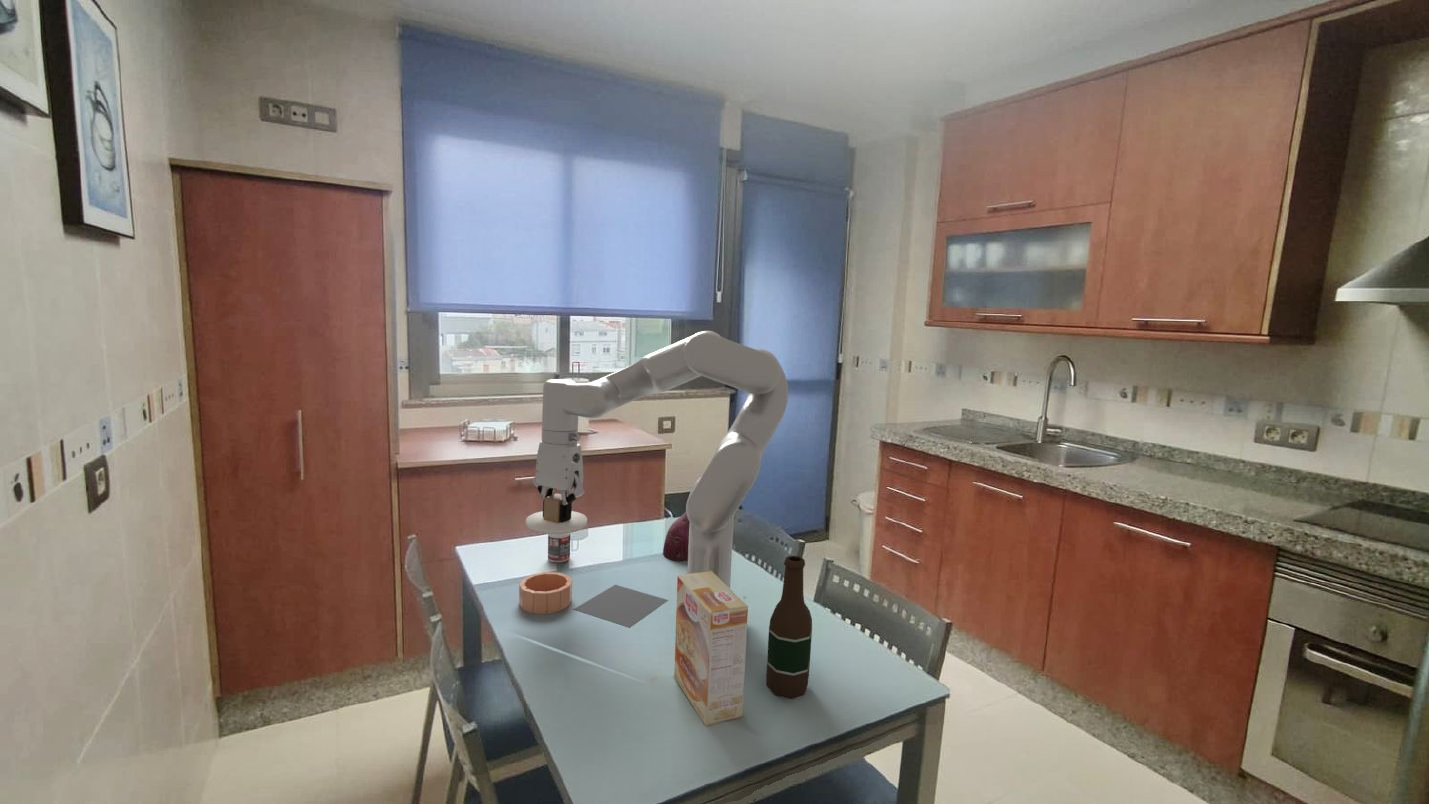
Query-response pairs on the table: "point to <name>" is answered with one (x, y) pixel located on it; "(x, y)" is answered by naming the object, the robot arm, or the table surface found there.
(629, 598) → the mat
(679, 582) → the coffeecake box
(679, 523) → the vegetable
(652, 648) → the table surface
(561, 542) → the pill bottle
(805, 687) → the beer bottle
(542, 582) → the bowl
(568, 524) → the lid
